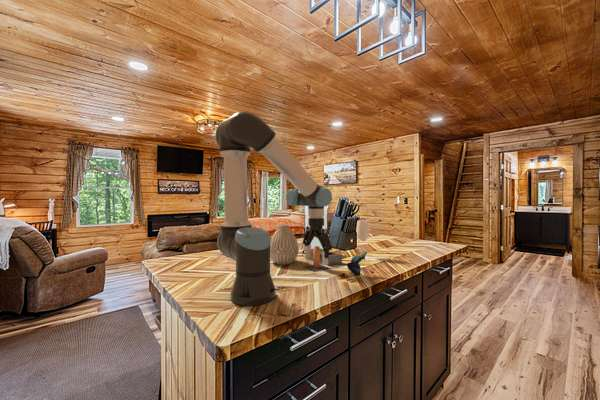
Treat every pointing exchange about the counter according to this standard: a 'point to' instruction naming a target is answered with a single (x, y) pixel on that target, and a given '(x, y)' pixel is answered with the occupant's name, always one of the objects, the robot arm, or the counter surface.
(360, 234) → the cup
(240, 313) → the counter surface
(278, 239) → the vase
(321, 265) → the mat
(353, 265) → the fish
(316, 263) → the peg
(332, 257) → the hole block
